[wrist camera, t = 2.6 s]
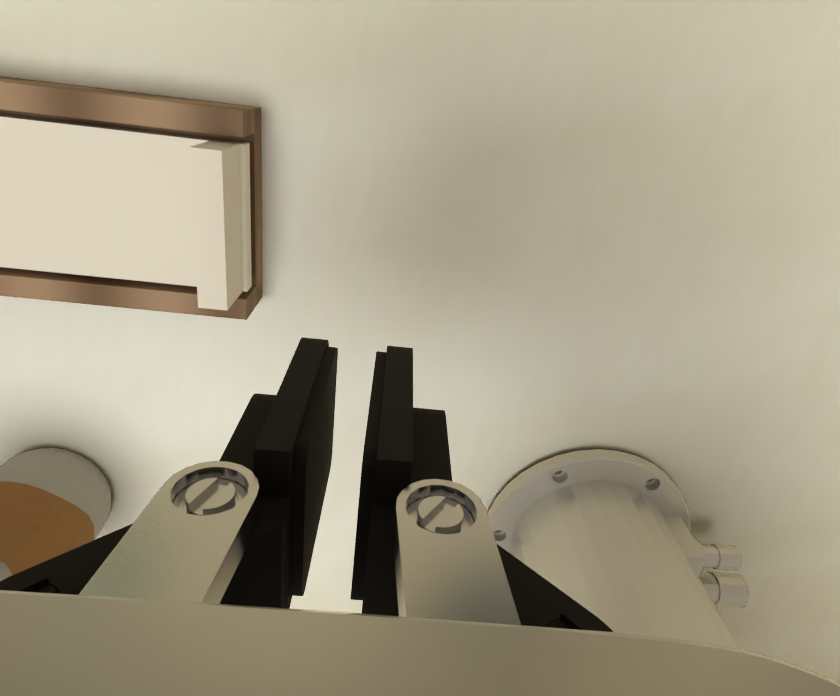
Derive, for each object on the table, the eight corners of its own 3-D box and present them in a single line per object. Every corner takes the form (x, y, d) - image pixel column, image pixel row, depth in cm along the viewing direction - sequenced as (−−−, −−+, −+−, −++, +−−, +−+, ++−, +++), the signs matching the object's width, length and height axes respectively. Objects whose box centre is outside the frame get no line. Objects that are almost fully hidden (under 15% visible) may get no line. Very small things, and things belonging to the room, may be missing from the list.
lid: (249, 142, 24) (227, 151, 21) (251, 285, 27) (232, 311, 24) (-98, 102, 23) (-171, 105, 20) (-59, 254, 26) (-119, 276, 23)
